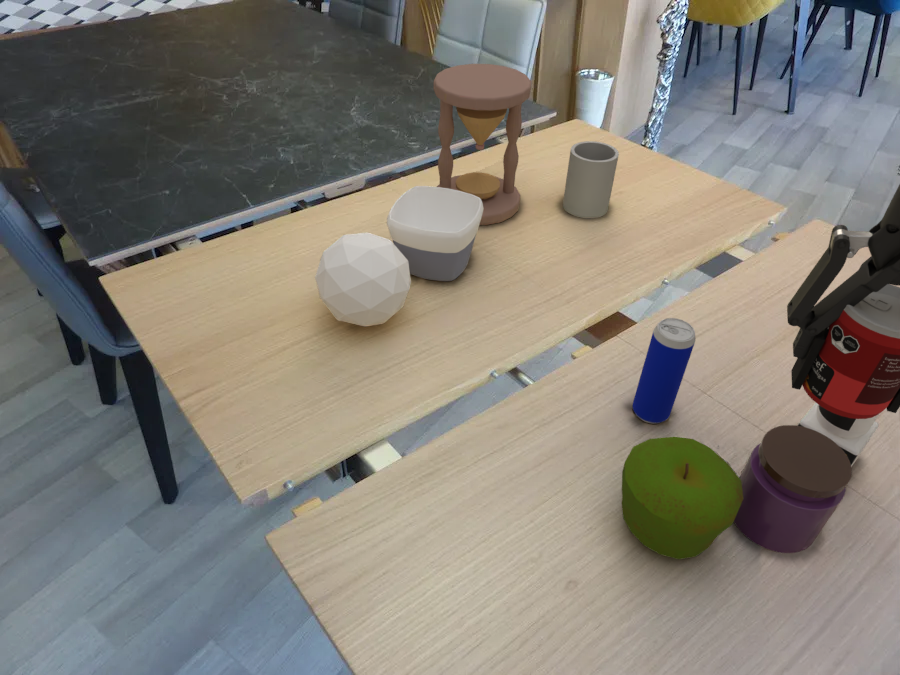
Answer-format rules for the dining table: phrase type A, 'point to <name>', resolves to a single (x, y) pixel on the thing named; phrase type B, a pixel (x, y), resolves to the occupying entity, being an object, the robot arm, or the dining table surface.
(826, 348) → the canned food
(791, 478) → the jar
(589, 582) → the dining table surface
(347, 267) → the geometric shape
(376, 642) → the dining table surface
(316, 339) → the dining table surface
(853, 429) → the medicine bottle
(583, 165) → the cup
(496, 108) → the hourglass
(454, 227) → the bowl
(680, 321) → the beverage can
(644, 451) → the apple
